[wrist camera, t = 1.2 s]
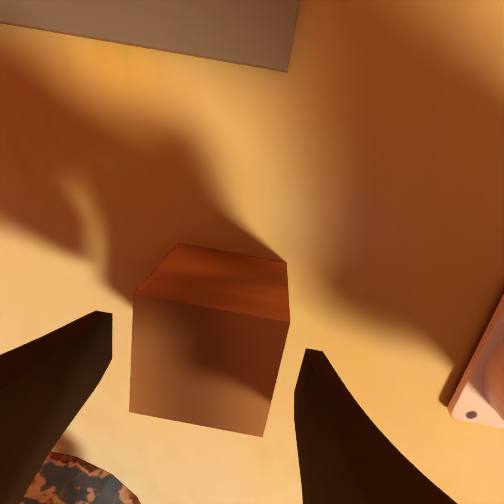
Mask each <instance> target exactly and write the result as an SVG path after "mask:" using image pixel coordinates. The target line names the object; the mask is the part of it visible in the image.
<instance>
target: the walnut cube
mask: <svg viewBox="0 0 504 504" xmlns="http://www.w3.org/2000/svg"><path fill="white" fill-rule="evenodd" d="M289 325H290V310H289V293H288V277H287V263H285V262H280V261H274V260H269V259H263V258H258V257H252V256H247V255H241V254H236V253H230V252H225V251H219V250H214V249H208V248H202V247H197V246H191V245H186V244H180V243H178V244H177V245H176V247H175V248H174V249H173V250H172V251H171V252H170V253H169V254H168V256H167V257H166V258H165V259H164V260H163V261H162V262H161V263H160V264H159V266H158V267H157V268H156V269H155V270H154V271H153V272H152V273H151V274H150V276H149V277H148V278H147V279H146V280H145V281H144V282H143V283H142V285H141V286H140V287H139V288H138V289H137V290H136V291H135V292H134V296H133V323H132V350H131V377H130V404H129V412H132V413H137V414H142V415H148V416H153V417H158V418H164V419H169V420H174V421H179V422H185V423H190V424H195V425H201V426H206V427H211V428H216V429H222V430H227V431H232V432H238V433H243V434H248V435H253V436H259V437H263V433H264V429H265V425H266V421H267V417H268V413H269V408H270V404H271V400H272V396H273V392H274V388H275V383H276V379H277V375H278V371H279V367H280V363H281V359H282V354H283V350H284V346H285V342H286V338H287V334H288V329H289Z"/></svg>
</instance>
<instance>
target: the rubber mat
mask: <svg viewBox="0 0 504 504" xmlns="http://www.w3.org/2000/svg"><path fill="white" fill-rule="evenodd" d="M299 1H300V0H0V23H3V24H9V25H15V26H20V27H26V28H32V29H38V30H44V31H50V32H55V33H61V34H67V35H73V36H79V37H85V38H90V39H96V40H102V41H108V42H114V43H120V44H125V45H131V46H137V47H143V48H149V49H155V50H160V51H166V52H172V53H178V54H184V55H190V56H195V57H201V58H207V59H213V60H219V61H225V62H230V63H236V64H242V65H248V66H254V67H260V68H265V69H271V70H277V71H283V72H287V68H288V63H289V57H290V51H291V46H292V40H293V34H294V29H295V23H296V17H297V12H298V6H299Z"/></svg>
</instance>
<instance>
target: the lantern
mask: <svg viewBox="0 0 504 504" xmlns="http://www.w3.org/2000/svg"><path fill="white" fill-rule="evenodd" d="M20 504H140V502H139V500H138V498H137V497H136V496H135V495H134V494H133V493H132V492H131V491H130V490H128V489H127V488H126V487H125V486H124V485H123V484H122V483H121V482H120V481H118V480H117V479H116V478H115V477H114V476H113V475H112V474H110V473H108V472H106V471H104V470H102V469H100V468H98V467H95V466H93V465H91V464H89V463H87V462H85V461H83V460H81V459H79V458H77V457H72V456H67V455H62V454H57V453H52V452H50V453H49V454H48V456H47V458H46V459H45V461H44V463H43V464H42V466H41V468H40V469H39V471H38V473H37V474H36V476H35V478H34V480H33V481H32V483H31V485H30V486H29V488H28V490H27V492H26V493H25V495H24V497H23V499H22V500H21V502H20Z"/></svg>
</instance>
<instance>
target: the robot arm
mask: <svg viewBox="0 0 504 504" xmlns="http://www.w3.org/2000/svg"><path fill="white" fill-rule="evenodd" d="M111 360H112V313H106V312H101V311H94V312H92V313H90V314H88V315H85V316H83V317H81V318H79V319H77V320H75V321H73V322H71V323H69V324H67V325H65V326H63V327H61V328H59V329H57V330H55V331H53V332H51V333H49V334H46V335H44V336H42V337H40V338H38V339H36V340H33V341H31V342H29V343H27V344H24V345H22V346H20V347H18V348H15V349H13V350H11V351H8V352H6V353H3V354H1V355H0V504H20V502H21V500H22V499H23V497H24V495H25V493H26V492H27V490H28V488H29V486H30V485H31V483H32V481H33V480H34V478H35V476H36V474H37V473H38V471H39V469H40V468H41V466H42V464H43V463H44V461H45V459H46V458H47V456H48V454H49V453H50V451H51V450H52V448H53V447H54V445H55V444H56V442H57V441H58V439H59V438H60V437H61V435H62V434H63V432H64V431H65V430H66V428H67V427H68V426H69V424H70V423H71V421H72V420H73V419H74V417H75V416H76V415H77V413H78V412H79V410H80V409H81V408H82V406H83V405H84V403H85V402H86V401H87V399H88V398H89V396H90V395H91V394H92V392H93V391H94V389H95V388H96V387H97V385H98V384H99V382H100V380H101V378H102V377H103V375H104V373H105V371H106V369H107V367H108V365H109V364H110V362H111ZM447 409H448V412H449V413H450V415H451V417H453V418H454V419H457V420H461V421H467V422H472V423H478V424H483V425H488V426H494V427H499V428H504V294H503V296H502V298H501V300H500V302H499V304H498V306H497V308H496V310H495V312H494V314H493V316H492V318H491V320H490V322H489V325H488V327H487V329H486V331H485V333H484V335H483V337H482V339H481V341H480V343H479V345H478V347H477V349H476V351H475V353H474V355H473V357H472V359H471V361H470V363H469V365H468V367H467V369H466V371H465V373H464V375H463V377H462V379H461V381H460V383H459V385H458V387H457V389H456V391H455V393H454V395H453V397H452V399H451V401H450V403H449V405H448V408H447ZM469 411H470V412H469ZM294 421H295V431H296V440H297V449H298V457H299V466H300V475H301V483H302V496H303V504H457V503H456V502H455V501H454V500H452V499H451V498H450V497H449V496H448V495H446V494H445V493H444V492H443V491H442V490H440V489H439V488H438V487H437V486H436V485H435V484H433V483H432V482H431V481H430V480H429V479H428V478H427V477H426V476H424V475H423V474H422V473H421V472H420V471H419V470H418V469H417V468H416V467H415V466H414V465H413V464H412V463H411V462H410V461H409V460H408V459H407V458H406V457H404V456H403V455H402V454H401V453H400V452H399V451H398V449H397V448H396V447H395V446H394V445H393V444H392V443H391V442H390V441H389V440H388V439H387V438H386V437H385V436H384V434H383V433H382V432H381V431H380V430H379V429H378V428H377V427H376V425H375V424H374V423H373V422H372V421H371V420H370V418H369V417H368V416H367V415H366V413H365V412H364V411H363V410H362V408H361V407H360V406H359V404H358V403H357V402H356V400H355V399H354V398H353V396H352V395H351V393H350V392H349V391H348V389H347V388H346V386H345V385H344V383H343V382H342V380H341V379H340V377H339V376H338V374H337V373H336V371H335V370H334V368H333V367H332V365H331V364H330V362H329V360H328V359H327V357H326V356H325V354H324V353H323V351H318V350H313V349H307V348H306V350H305V354H304V358H303V361H302V365H301V369H300V372H299V376H298V380H297V384H296V387H295V391H294Z"/></svg>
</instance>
